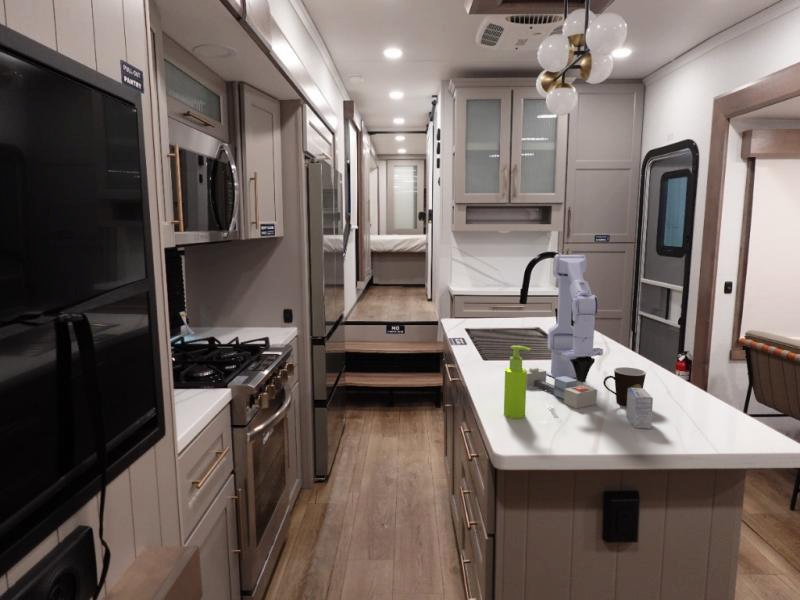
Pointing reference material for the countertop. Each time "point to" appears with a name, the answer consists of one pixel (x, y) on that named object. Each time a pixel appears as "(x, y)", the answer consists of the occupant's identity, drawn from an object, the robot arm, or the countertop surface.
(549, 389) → the rail
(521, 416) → the soap dispenser
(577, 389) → the red rounded piece
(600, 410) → the countertop surface
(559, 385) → the carriage
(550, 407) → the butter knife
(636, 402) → the medicine box
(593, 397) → the cabinet
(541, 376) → the cabinet
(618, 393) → the coffee mug
